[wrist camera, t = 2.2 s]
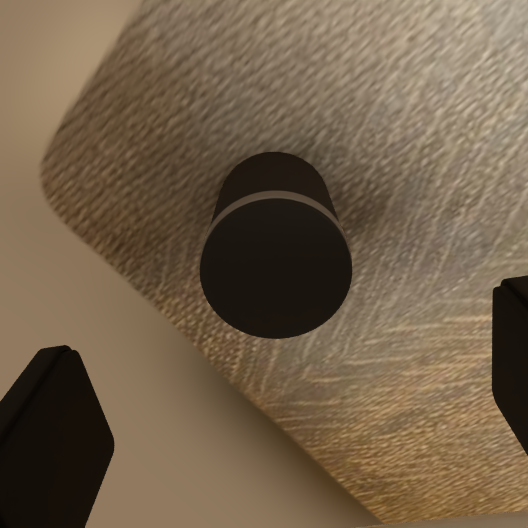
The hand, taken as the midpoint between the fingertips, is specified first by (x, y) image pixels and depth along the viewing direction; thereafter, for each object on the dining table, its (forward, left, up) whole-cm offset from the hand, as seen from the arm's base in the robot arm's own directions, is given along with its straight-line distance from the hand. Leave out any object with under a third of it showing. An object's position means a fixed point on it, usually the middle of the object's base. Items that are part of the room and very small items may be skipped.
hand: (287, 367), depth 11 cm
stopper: (0, 0, -10) cm, 10 cm away
